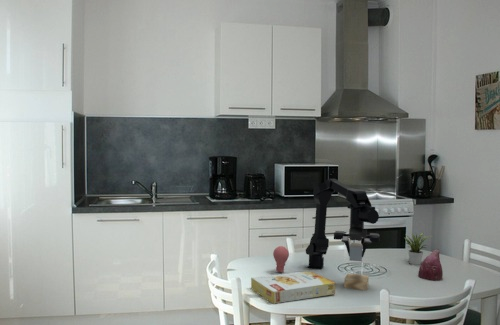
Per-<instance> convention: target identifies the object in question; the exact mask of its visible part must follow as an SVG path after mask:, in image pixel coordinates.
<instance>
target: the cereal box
mask: <svg viewBox="0 0 500 325" xmlns="http://www.w3.org/2000/svg"><path fill="white" fill-rule="evenodd" d="M250 282H251V283H250V285H251V286H250V289H252V290H253V291H255V293H257V294H258V295H260V296H262V297H263V298H264V299H265V300H267V301H269V302H270V303H272V304H278V303H279V304H280V303H285V302H293V301H298V300H305V299H312V298H318V297H325V296H331V295H335V294H336V282H334V281H333V280H330V279H328V278H325V277H324V276H322V275H319V274H318V273H314V272H313V271H310V270H307V271H300V272H299V271H298V272H290V273H281V274H273V275H272V274H271V275H265V276H264V275H263V276H256V277H251V279H250Z"/></svg>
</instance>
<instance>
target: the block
mask: <svg viewBox="0 0 500 325" xmlns="http://www.w3.org/2000/svg"><path fill="white" fill-rule="evenodd" d="M369 279H370V278H369V275H365V274H364V275H363V274H356V273H347V274H346V276H345V278H344V284H343V288H344V289H350V288H353V289H352V290H358V289H361V290H360V291H367V289H368V287H369Z"/></svg>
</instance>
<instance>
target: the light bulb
mask: <svg viewBox="0 0 500 325" xmlns="http://www.w3.org/2000/svg"><path fill="white" fill-rule="evenodd" d="M272 255H273V259H274V261H275V264H276V267H275V271H276V272H277V273H283V272H284V271H285V266H286V263H287V261H288V258H290V253H289V250H288V248H286V246H281V245H280V246H277V247H275V249H274V250H273V254H272Z"/></svg>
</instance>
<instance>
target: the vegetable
mask: <svg viewBox="0 0 500 325" xmlns="http://www.w3.org/2000/svg"><path fill="white" fill-rule="evenodd" d="M440 260H441V258H440V249H439V248H437V249H434V250H433V251H432V252H431V253H429V255H427V256H426V257H425V258H424V259H422V261H421V264H420V265H419V269H418V273H417V276H418V278H420V279H423V280H427V281H432V282H439V281H441V280H443V275H444V274H443V267H442V264H441V261H440Z"/></svg>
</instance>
